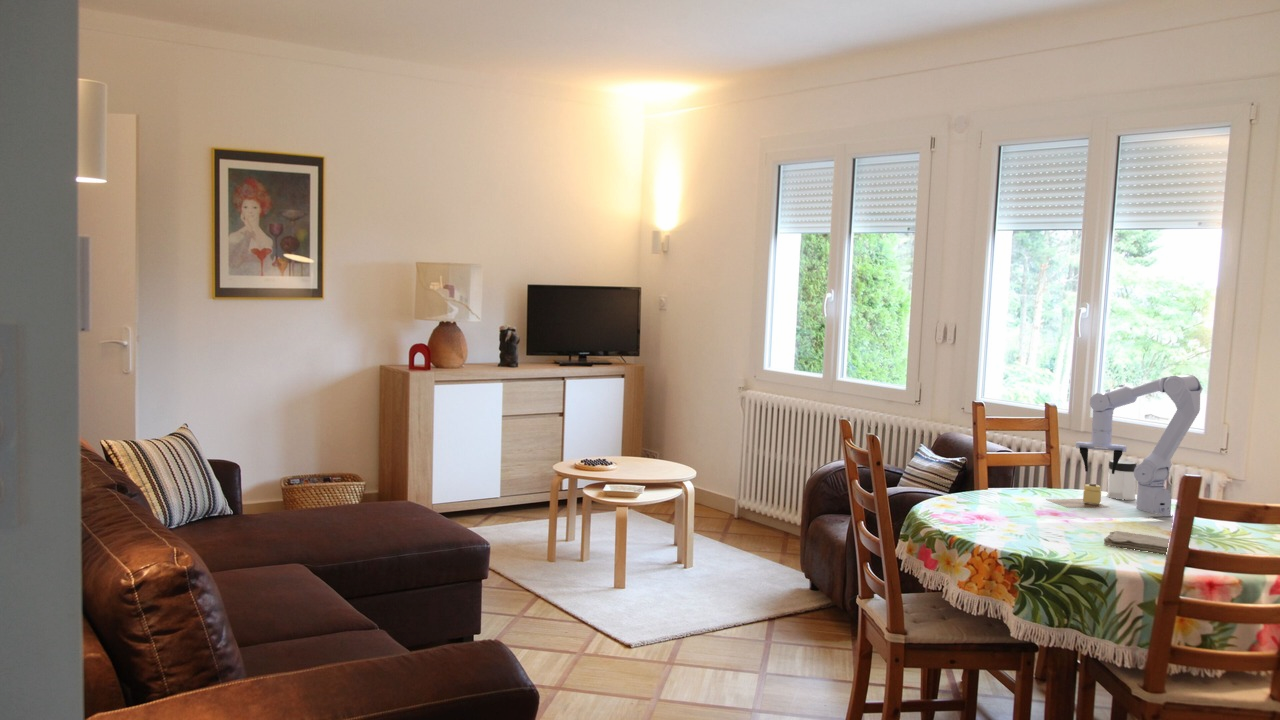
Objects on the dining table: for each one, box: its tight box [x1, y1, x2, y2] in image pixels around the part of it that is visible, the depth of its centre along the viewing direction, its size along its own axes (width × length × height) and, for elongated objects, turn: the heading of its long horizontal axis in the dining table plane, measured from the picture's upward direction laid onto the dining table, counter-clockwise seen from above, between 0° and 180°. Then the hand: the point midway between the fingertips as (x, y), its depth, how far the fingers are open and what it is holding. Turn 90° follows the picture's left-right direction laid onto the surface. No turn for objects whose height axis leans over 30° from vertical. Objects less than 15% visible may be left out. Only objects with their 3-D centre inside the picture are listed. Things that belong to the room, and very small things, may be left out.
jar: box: [1106, 459, 1138, 501], centre depth 315 cm, size 9×8×12 cm
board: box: [1045, 498, 1109, 509], centre depth 300 cm, size 12×14×1 cm
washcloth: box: [1103, 530, 1170, 556], centre depth 252 cm, size 12×18×3 cm, turn 55°
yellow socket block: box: [1082, 482, 1102, 504], centre depth 299 cm, size 5×5×6 cm
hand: (1099, 472), depth 306 cm, fingers open, 7 cm apart
